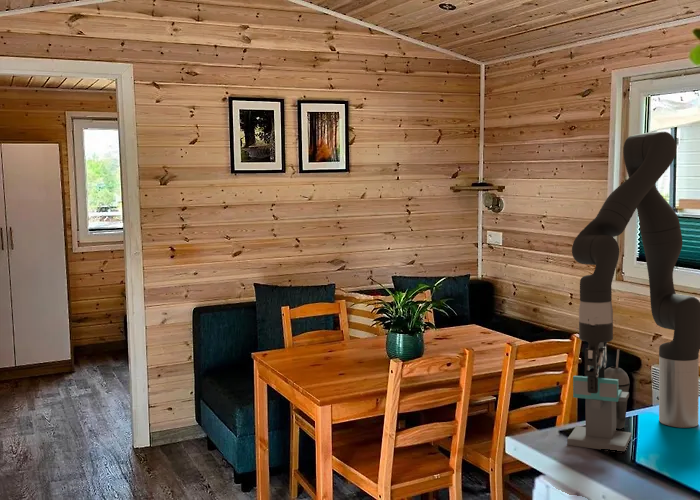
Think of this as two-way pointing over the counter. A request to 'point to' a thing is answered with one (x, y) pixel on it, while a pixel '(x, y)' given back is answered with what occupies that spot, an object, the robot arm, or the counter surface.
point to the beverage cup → (622, 385)
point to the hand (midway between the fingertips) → (596, 388)
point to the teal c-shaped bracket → (605, 389)
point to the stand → (600, 427)
